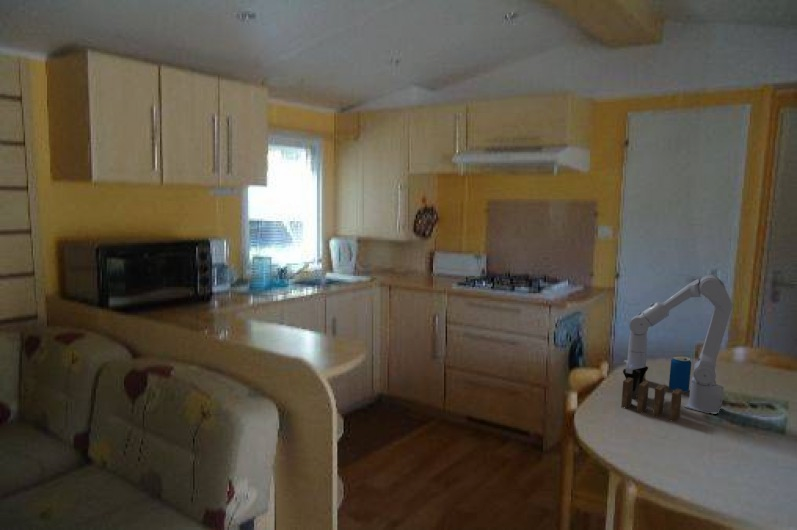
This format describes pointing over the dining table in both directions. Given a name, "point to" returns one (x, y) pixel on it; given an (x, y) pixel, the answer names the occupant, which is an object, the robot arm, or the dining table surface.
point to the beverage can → (680, 373)
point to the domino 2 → (635, 393)
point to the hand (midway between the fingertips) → (634, 388)
